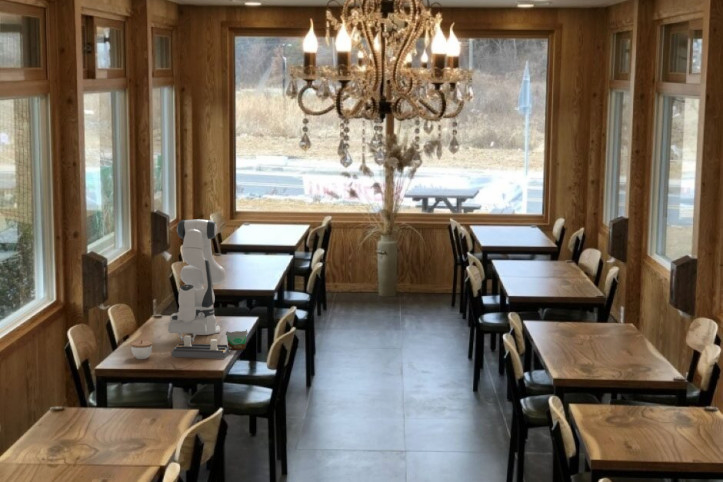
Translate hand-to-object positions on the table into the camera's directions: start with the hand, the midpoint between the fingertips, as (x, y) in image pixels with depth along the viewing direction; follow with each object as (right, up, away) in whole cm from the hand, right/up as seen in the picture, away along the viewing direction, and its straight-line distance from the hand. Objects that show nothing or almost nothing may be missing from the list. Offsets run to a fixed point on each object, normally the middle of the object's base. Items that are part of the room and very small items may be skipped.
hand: (187, 341), depth 566 cm
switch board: (+7, -7, -3) cm, 10 cm away
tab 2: (+15, -4, -7) cm, 17 cm away
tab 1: (0, -3, 0) cm, 3 cm away
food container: (+26, -5, +9) cm, 28 cm away
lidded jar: (-22, -8, -11) cm, 26 cm away
